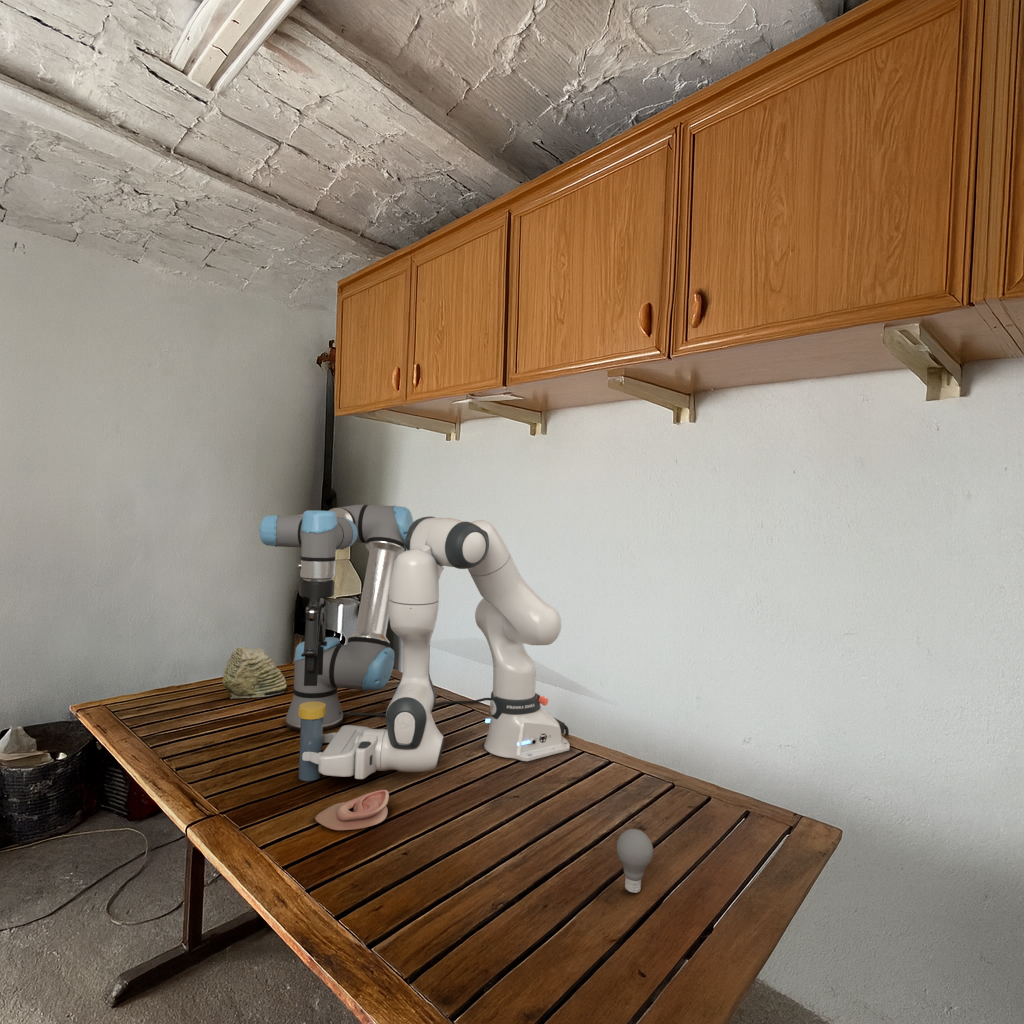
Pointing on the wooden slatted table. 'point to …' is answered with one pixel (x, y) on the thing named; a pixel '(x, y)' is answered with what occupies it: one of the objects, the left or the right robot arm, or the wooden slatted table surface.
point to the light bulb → (634, 857)
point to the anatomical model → (356, 812)
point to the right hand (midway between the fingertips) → (310, 746)
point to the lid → (312, 710)
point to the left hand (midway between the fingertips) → (313, 679)
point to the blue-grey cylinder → (310, 747)
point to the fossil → (252, 674)
